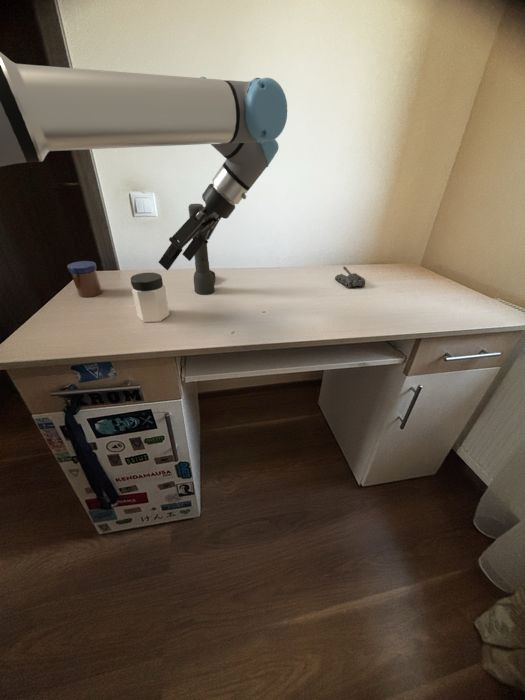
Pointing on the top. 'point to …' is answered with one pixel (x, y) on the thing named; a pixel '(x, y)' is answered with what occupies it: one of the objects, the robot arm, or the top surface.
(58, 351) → the top surface
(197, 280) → the flashlight
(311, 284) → the top surface
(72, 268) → the lid
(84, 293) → the jam jar
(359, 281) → the tank toy
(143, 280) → the jar
